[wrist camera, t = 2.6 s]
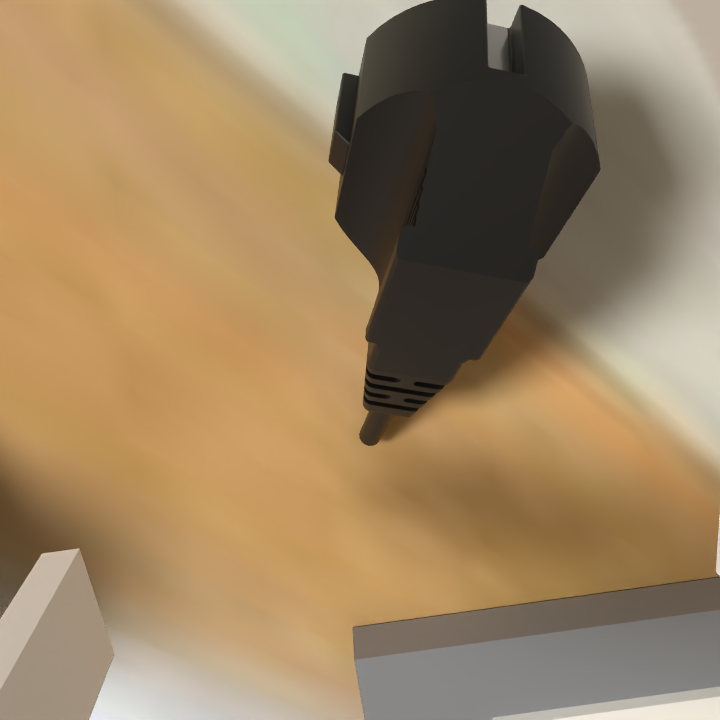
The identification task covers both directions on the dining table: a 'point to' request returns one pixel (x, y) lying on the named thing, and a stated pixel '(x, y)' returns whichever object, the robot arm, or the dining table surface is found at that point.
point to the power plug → (455, 183)
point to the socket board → (551, 659)
